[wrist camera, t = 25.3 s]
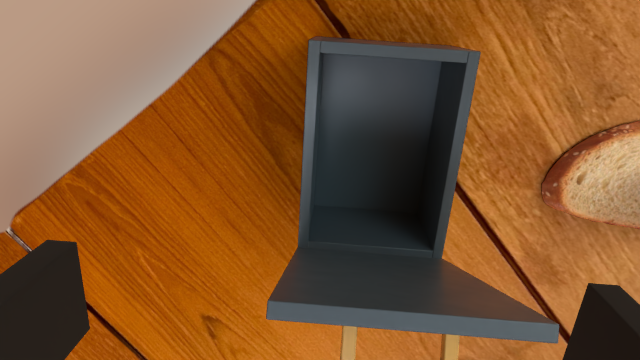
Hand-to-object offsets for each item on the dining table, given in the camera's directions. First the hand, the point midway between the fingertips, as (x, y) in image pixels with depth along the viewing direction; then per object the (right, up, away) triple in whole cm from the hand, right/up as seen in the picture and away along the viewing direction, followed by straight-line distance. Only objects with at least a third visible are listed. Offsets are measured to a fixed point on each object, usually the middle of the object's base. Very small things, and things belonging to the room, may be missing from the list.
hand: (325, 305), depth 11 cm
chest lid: (+4, -3, +17) cm, 17 cm away
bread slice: (+34, +3, +32) cm, 47 cm away
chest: (+5, +8, +32) cm, 33 cm away
